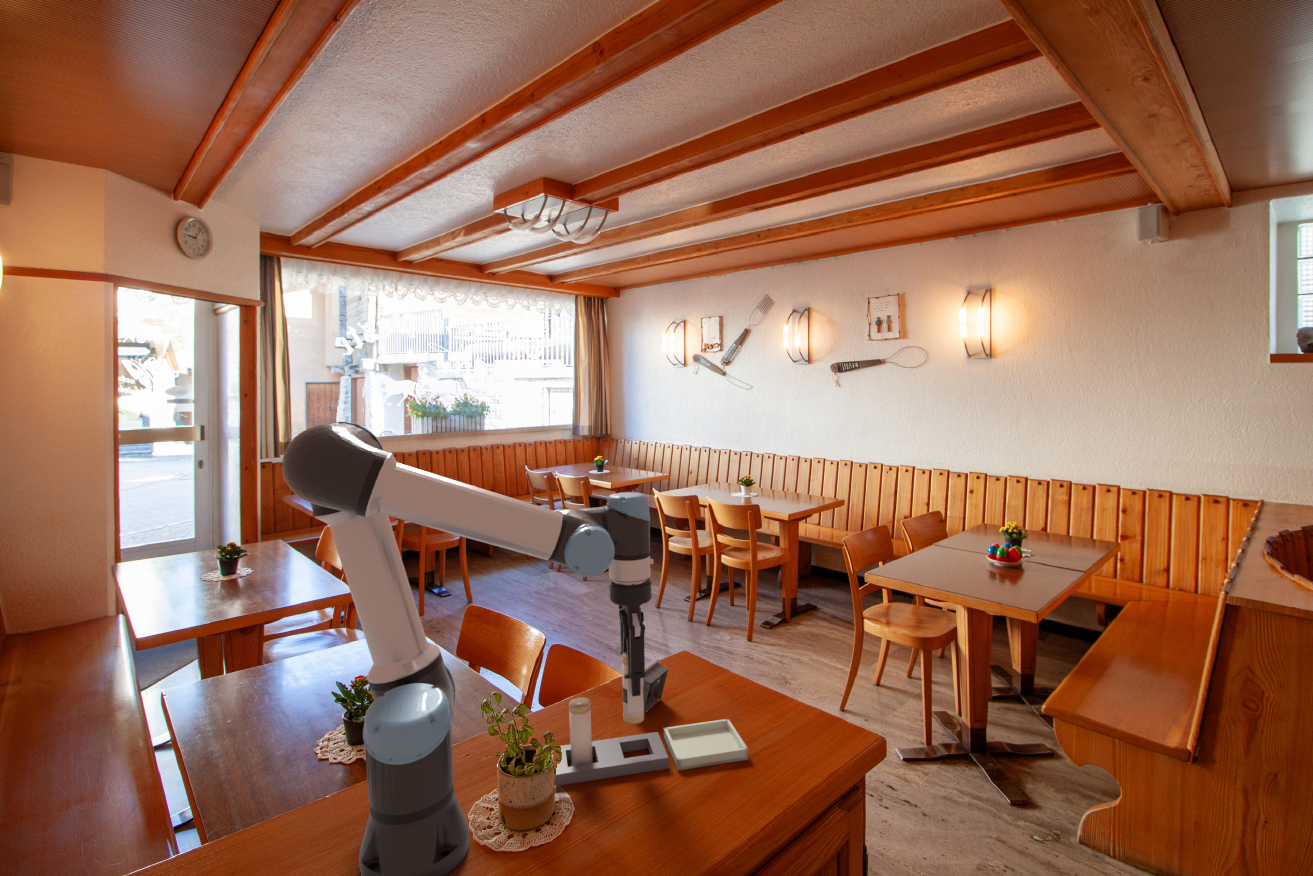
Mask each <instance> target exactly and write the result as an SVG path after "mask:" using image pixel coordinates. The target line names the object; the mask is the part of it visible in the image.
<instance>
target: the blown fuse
mask: <svg viewBox="0 0 1313 876" xmlns="http://www.w3.org/2000/svg"><path fill="white" fill-rule="evenodd" d="M625 674H628V659H627V652H624V653H623V654H622V656H621V675H622V677H621V678H622V679H621V680H622V681H621V682H622V714H623V715H622V718H623V722H624V723H626V724H628V725H637V724H641V723H642V722H644V721H645V714H644V688H643V711H639V712H632V713H628V700H627V679H625V678H624V675H625Z"/></svg>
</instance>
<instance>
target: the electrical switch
mask: <svg viewBox="0 0 1313 876" xmlns="http://www.w3.org/2000/svg"><path fill="white" fill-rule="evenodd" d="M668 672H669V668H667V667H665V666H663V665H662V664H661V663H660V659H658V658H656V657H655V658H654V659H653V660H651V661H650V662H649V663H647V664H645V678H643V688H644V713H645V712H646V711H647V710H649V708H651V706H652V705H654V703H656V702H658V700H659V699H660V701H661V700H662V695H663V693H664V688H665V684H666V679H667V676H668ZM658 703H659V702H658ZM656 704H657V703H656ZM654 706H655V705H654ZM651 709H652V708H651ZM649 711H650V710H649ZM647 712H648V711H647ZM647 712H646V713H647ZM646 713H645V714H646Z"/></svg>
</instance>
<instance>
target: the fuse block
mask: <svg viewBox="0 0 1313 876" xmlns="http://www.w3.org/2000/svg"><path fill="white" fill-rule="evenodd" d="M559 746H560V747H561V752H562V760H561V762H560V763H559V764H557V768H556V775H554V784H555V783H556V786H555V787H558V786H563V785H564V786H566V785H570V784H577V783H584V782H590V781H591V782H592V781H598V780H602V779H604V780H605V779H609V778H614V777H622V776H627V775H634V774H641V773H648V772H654V771H661V770H667V769H670V766H669V755H668V754H667V750H666V748H665V746H664V744H663V741H662V738H661V737H660V735H659V731H654V732H653V731H652V732H647V733H641V734H632V735H627V736H620V737H613V738H607V739H605V738H604V739H597V740H593V741H592V758H593V757H594V758H595V761H596V762H593V763H591V764H584V765H577V766H571V765H570V766H568V761H571V743H569V744H565V745H559ZM647 749H648V752H649V754H644V755H637V756H633V757H632V756H631V757H625V756H624V753H627V752H634V751H641V750H647Z"/></svg>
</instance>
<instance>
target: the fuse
mask: <svg viewBox="0 0 1313 876" xmlns="http://www.w3.org/2000/svg"><path fill="white" fill-rule="evenodd" d="M568 713H569V714H568V715H569V716H568V718H569V741H570V743H569V744H571V760H570V763H571V765H570V767H571V766H577V765H584V764H591V763H594V762H593V757H592V738H593V737H592V716H591V715H592V712H591V699H589V698H587V697H576V698H573V699H571V700H569V701H568Z"/></svg>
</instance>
